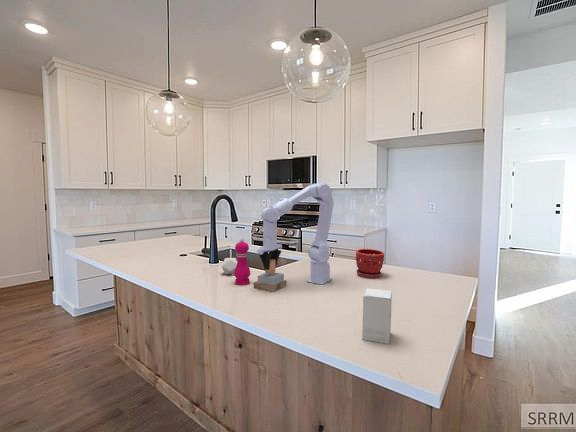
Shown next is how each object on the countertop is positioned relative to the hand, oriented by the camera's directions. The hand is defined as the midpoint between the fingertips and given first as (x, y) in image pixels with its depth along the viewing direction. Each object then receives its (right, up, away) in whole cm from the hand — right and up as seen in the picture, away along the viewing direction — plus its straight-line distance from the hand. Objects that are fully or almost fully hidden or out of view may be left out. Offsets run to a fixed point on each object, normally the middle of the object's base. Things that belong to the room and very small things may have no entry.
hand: (270, 268), depth 133 cm
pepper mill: (-13, -8, +7) cm, 16 cm away
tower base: (0, -9, +1) cm, 9 cm away
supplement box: (+33, -12, -44) cm, 56 cm away
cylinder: (0, -1, 0) cm, 1 cm away
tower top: (0, -6, 0) cm, 6 cm away
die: (-21, -7, +22) cm, 31 cm away
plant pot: (+47, -7, +19) cm, 51 cm away
